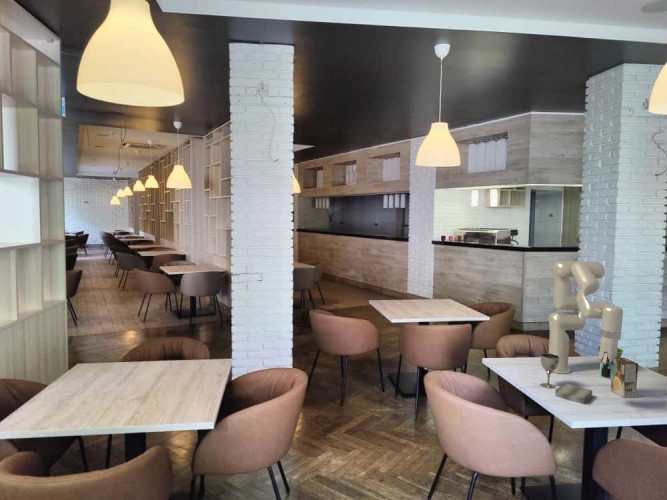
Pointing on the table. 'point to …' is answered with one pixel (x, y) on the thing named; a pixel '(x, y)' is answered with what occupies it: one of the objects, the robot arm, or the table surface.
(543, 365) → the wine glass
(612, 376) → the teal block
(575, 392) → the base block
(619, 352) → the plant pot
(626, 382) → the coffee box
